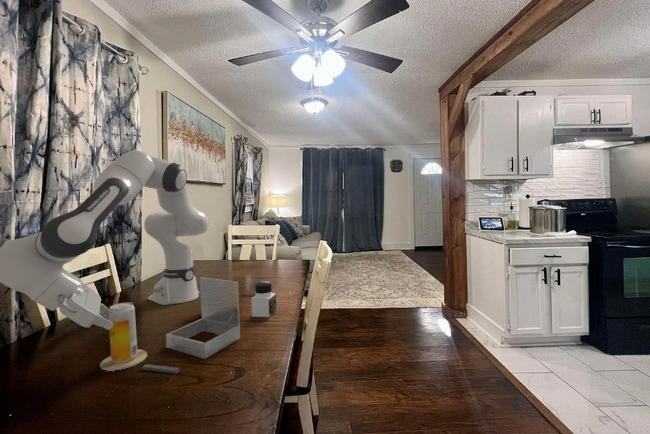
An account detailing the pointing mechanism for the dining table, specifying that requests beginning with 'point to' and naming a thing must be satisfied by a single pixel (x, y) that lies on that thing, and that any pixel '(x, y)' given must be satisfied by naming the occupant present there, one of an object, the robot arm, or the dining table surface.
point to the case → (211, 320)
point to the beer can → (123, 332)
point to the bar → (161, 368)
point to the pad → (111, 366)
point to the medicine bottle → (263, 300)
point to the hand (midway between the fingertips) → (111, 320)
